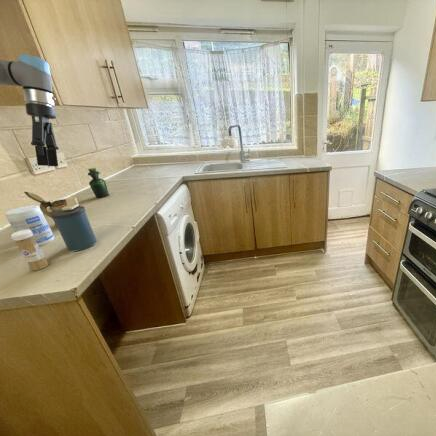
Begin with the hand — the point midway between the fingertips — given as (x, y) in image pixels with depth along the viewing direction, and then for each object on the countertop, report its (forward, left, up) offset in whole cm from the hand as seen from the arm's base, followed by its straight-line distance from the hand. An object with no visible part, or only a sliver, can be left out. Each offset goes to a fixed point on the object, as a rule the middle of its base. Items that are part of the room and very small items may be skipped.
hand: (48, 166), depth 91 cm
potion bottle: (-57, +25, -30) cm, 69 cm away
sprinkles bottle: (+17, -14, -30) cm, 37 cm away
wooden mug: (-23, -1, -30) cm, 38 cm away
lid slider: (+10, 0, -15) cm, 18 cm away
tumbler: (+11, -1, -30) cm, 32 cm away
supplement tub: (-7, -11, -30) cm, 33 cm away
